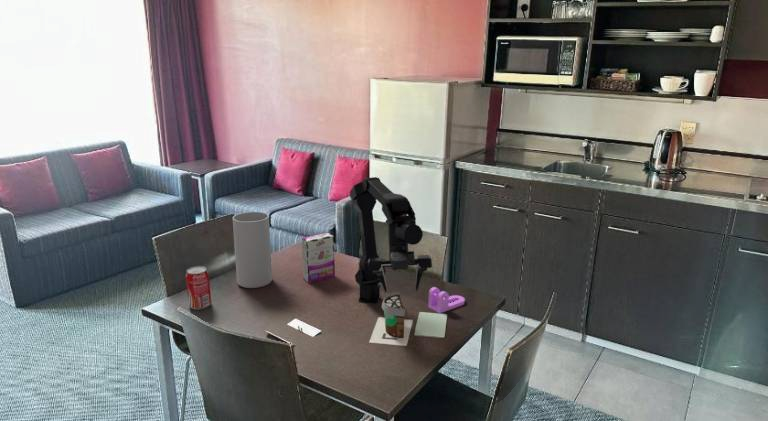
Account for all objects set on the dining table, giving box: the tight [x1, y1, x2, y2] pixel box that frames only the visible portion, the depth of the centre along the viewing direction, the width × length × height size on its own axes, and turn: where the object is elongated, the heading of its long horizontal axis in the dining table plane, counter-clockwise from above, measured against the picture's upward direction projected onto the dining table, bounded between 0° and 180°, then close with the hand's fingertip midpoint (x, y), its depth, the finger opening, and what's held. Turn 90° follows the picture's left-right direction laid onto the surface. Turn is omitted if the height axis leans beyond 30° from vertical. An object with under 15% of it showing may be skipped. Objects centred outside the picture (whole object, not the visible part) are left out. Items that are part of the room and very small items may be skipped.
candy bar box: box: [301, 232, 336, 284], centre depth 201 cm, size 11×5×16 cm, turn 123°
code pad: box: [368, 316, 414, 347], centre depth 165 cm, size 11×16×1 cm
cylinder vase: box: [232, 211, 273, 289], centre depth 196 cm, size 12×12×25 cm
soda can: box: [185, 265, 212, 311], centre depth 178 cm, size 7×7×13 cm
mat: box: [413, 311, 448, 339], centre depth 169 cm, size 9×15×1 cm, turn 171°
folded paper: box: [264, 318, 322, 346], centre depth 163 cm, size 12×12×2 cm
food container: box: [381, 291, 406, 338], centre depth 164 cm, size 12×6×10 cm, turn 5°
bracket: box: [427, 286, 466, 314], centre depth 182 cm, size 13×6×7 cm, turn 127°
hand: (401, 291), depth 162 cm, fingers open, 9 cm apart
